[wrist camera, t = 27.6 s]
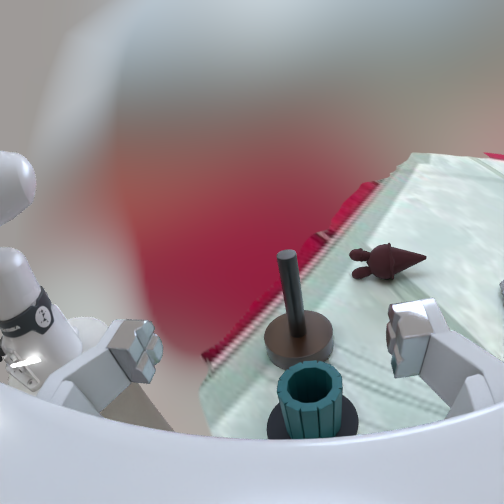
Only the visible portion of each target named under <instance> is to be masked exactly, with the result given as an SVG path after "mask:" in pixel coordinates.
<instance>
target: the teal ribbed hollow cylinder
mask: <svg viewBox="0 0 504 504" xmlns="http://www.w3.org/2000/svg"><path fill="white" fill-rule="evenodd" d="M342 390H343V387H342V376H341V374H340V373H339V372H338V371H337V370H336V369H335V368H334V366H332V367H331V364H328V363H325V362H322V361H319V362H318V363H317V360H315V361H303V364H302V363H301V362H300V363H298V364H296V365H294V366H291V367H289V370H288V369H287V370H286V371H285V372H284V373H283V375H282V376H281V377H280V378H279V380H278V386H277V394H278V398H279V402H280V406H281V410H282V414H283V418H284V422H285V426H286V429H287V432H288V434H289V436H290V437H291V439H316V438H332V437H335V436H336V434H337V433H338V431H339V430H340V427H341V413H342Z"/></svg>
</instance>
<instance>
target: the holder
mask: <svg viewBox="0 0 504 504" xmlns="http://www.w3.org/2000/svg"><path fill="white" fill-rule="evenodd" d="M277 262H278V267H279V273H280V278H281V284H282V290H283V295H284V301H285V307H286V313H285V314H283V315H281V316H279V317H277V318H276V319H274V320H273V321H272V322H271V323H270V324H269V325H268V327H267V329H266V331H265V334H264V340H265V345H266V349H267V353H268V356H269V358H270V360H271V361H272V362H273V363H274V364H275V365H276V366H278V367H280V368H282V369H284V370H287V369H288V370H289V367H291V366H294V365H296V364H298V363H300V362H301V363H302V364H303V361H315V360H317V363H318V362H319V361H322V362H324V361H325V360H326V359H327V358H328V357H329V356H330V354H331V352H332V350H333V329H332V325H331V323H330V321H329V320H328V319H327V318H326V317H325V316H323V315H322V314H319V313H317V312H314V311H308V310H304V307H303V299H302V292H301V284H300V277H299V270H298V263H297V256H296V252H295V251H294V250H283V251H280V252H279V253H278V254H277Z"/></svg>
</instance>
